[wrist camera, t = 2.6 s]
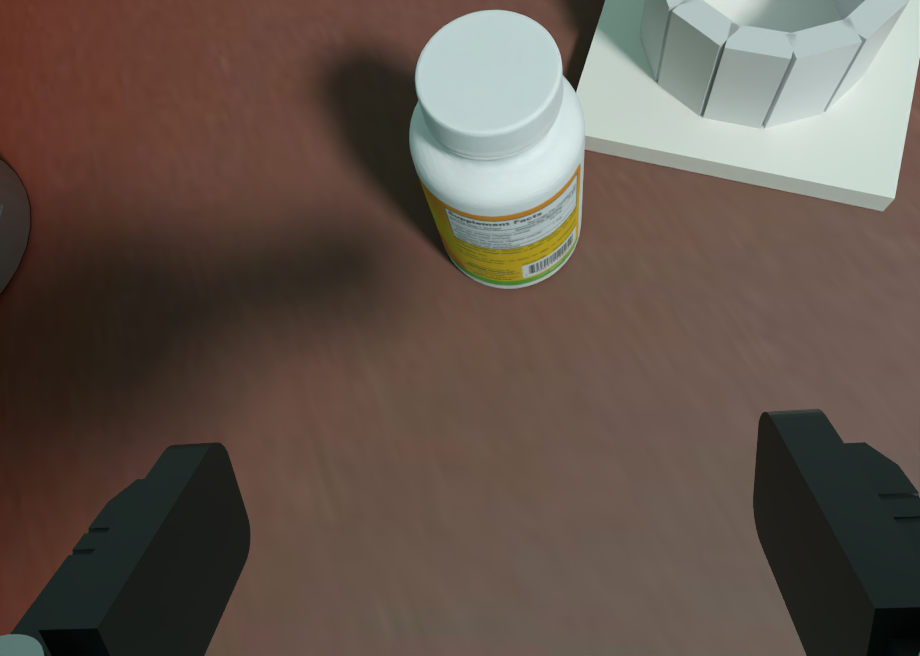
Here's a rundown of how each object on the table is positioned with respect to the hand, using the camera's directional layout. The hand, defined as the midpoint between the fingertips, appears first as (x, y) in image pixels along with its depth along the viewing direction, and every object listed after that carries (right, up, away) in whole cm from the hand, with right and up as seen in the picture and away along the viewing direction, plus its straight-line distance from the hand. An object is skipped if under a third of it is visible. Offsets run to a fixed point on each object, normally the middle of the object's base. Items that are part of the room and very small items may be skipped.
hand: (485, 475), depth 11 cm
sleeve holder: (+11, +14, +19) cm, 26 cm away
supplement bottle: (+2, +6, +18) cm, 19 cm away
